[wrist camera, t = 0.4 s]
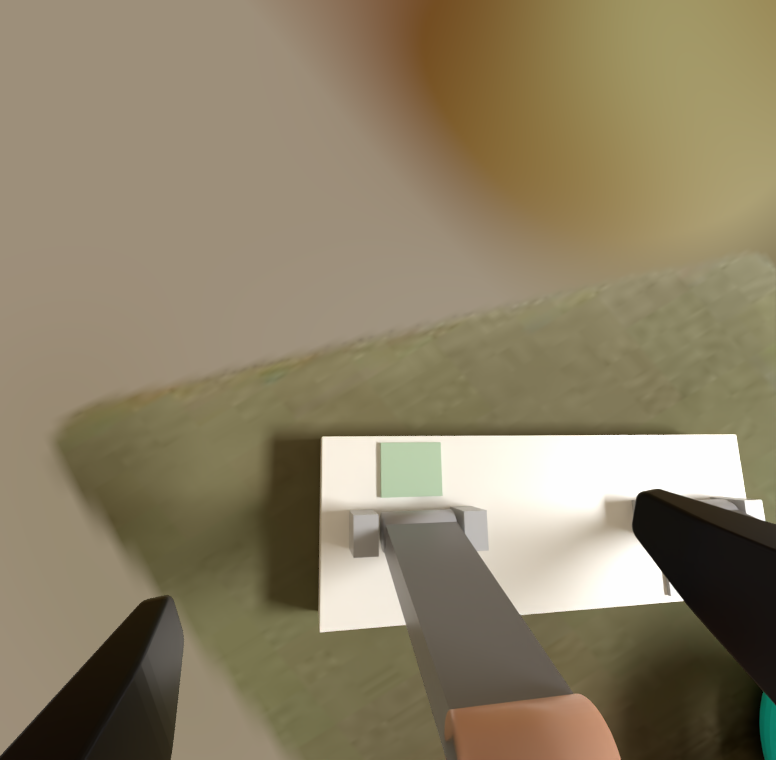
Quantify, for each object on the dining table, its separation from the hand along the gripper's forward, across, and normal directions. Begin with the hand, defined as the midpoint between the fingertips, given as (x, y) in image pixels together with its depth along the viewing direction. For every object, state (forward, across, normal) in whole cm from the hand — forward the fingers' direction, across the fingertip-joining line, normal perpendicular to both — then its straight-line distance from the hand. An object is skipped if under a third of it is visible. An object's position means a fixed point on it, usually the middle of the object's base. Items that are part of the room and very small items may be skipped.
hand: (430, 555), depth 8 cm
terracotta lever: (+8, -2, +6) cm, 11 cm away
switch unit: (+11, -9, +9) cm, 17 cm away
